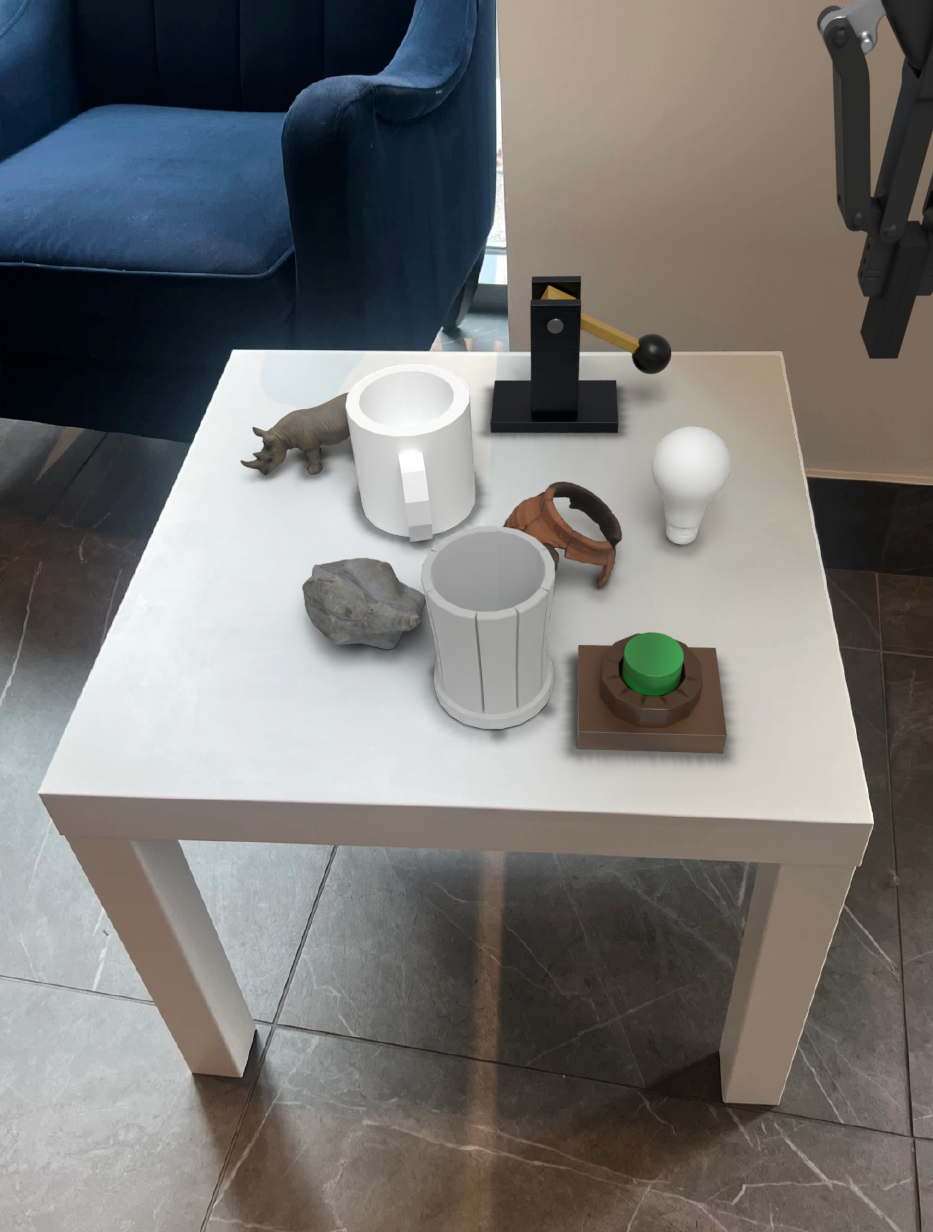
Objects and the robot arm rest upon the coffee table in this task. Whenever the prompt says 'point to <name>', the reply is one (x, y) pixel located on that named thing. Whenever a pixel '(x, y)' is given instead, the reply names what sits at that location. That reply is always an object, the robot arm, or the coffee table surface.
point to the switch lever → (624, 339)
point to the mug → (413, 449)
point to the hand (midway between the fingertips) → (878, 344)
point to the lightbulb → (689, 477)
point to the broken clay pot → (554, 532)
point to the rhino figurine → (302, 435)
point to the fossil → (361, 602)
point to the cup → (490, 624)
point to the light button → (652, 664)
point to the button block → (649, 704)
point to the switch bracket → (555, 373)
